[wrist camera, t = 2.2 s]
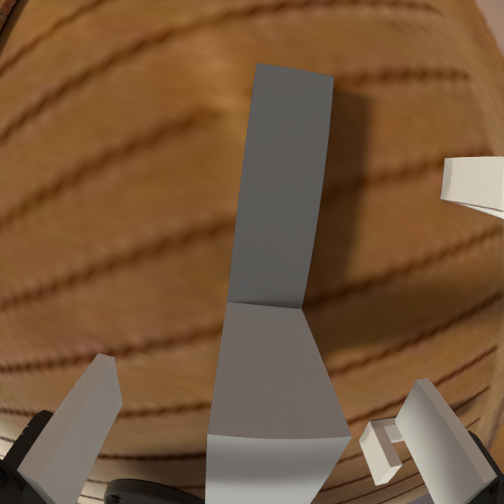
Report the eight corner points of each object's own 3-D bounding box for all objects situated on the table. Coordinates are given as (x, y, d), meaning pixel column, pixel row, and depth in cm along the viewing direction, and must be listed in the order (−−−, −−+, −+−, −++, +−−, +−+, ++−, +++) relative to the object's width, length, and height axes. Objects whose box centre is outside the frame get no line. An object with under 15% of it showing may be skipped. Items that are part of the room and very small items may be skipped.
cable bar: (256, 455, 22) (261, 562, 11) (214, 451, 22) (204, 559, 10) (320, 92, 15) (421, -17, 4) (255, 81, 15) (268, -61, 3)
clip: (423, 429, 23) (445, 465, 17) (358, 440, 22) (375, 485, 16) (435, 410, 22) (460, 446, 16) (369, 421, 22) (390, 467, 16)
